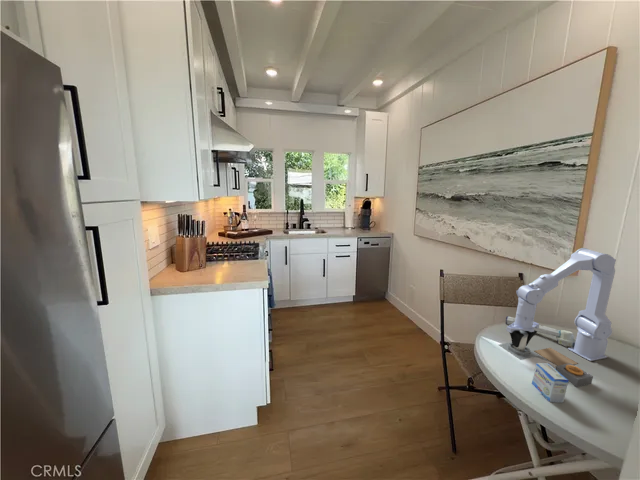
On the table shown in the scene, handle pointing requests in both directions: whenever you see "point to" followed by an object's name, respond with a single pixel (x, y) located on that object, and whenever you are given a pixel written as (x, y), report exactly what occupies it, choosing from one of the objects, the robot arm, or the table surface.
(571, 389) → the table surface
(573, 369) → the release button
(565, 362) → the tan board
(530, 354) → the cartridge socket
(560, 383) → the medicine box
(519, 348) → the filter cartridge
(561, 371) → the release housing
